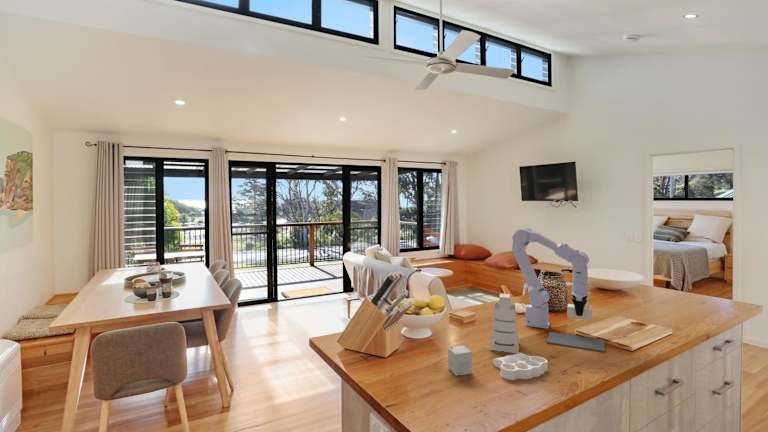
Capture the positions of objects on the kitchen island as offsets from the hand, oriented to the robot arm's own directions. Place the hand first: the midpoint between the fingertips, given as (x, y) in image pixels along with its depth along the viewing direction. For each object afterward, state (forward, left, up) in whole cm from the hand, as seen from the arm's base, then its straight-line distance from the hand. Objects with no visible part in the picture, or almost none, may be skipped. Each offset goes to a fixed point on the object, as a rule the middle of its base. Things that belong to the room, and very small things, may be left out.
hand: (579, 313), depth 161 cm
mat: (-1, -12, -8) cm, 15 cm away
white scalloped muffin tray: (-16, -47, -9) cm, 50 cm away
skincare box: (-34, -57, -8) cm, 67 cm away
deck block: (0, 0, -1) cm, 1 cm away
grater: (-25, -29, -8) cm, 39 cm away
